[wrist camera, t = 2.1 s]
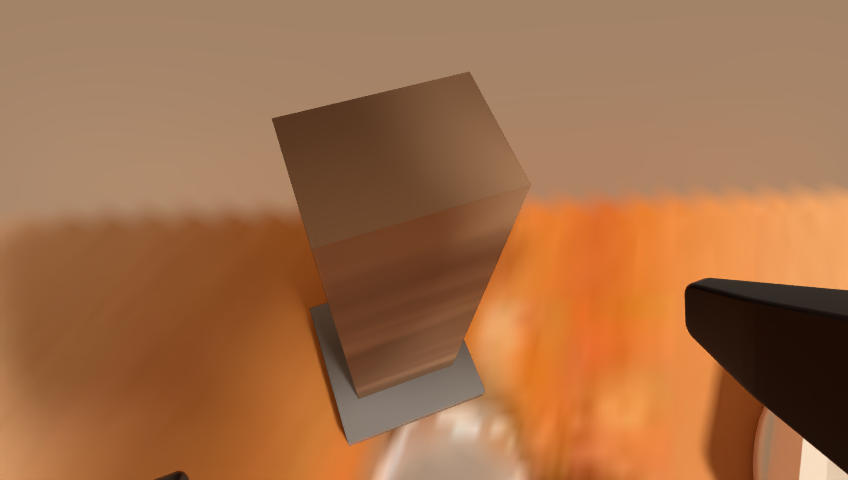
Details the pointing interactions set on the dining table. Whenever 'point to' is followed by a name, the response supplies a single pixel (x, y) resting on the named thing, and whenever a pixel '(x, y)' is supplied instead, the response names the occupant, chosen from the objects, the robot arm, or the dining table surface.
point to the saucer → (788, 454)
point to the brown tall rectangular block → (402, 241)
